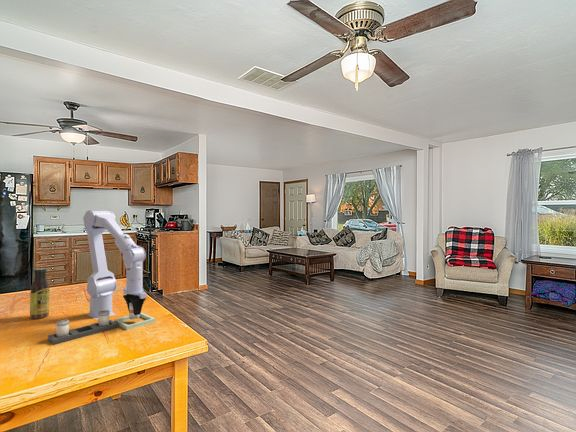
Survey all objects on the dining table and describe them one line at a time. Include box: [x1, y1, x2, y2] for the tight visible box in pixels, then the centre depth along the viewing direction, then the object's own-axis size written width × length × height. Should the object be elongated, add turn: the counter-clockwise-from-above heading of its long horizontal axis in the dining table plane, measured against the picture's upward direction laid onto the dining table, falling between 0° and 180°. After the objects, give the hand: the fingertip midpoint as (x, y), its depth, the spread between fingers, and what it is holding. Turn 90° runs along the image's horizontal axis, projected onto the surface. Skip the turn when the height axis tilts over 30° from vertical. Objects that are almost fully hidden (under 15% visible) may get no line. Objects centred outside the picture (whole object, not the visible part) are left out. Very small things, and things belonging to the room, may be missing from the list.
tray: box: [113, 312, 156, 331], centre depth 125 cm, size 11×11×2 cm
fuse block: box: [47, 319, 119, 346], centre depth 114 cm, size 7×20×2 cm, turn 141°
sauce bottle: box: [29, 267, 50, 320], centre depth 132 cm, size 7×6×20 cm
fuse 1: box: [55, 319, 70, 338], centre depth 109 cm, size 4×4×6 cm
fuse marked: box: [128, 302, 141, 320], centre depth 125 cm, size 4×4×6 cm
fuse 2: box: [97, 310, 110, 327], centre depth 119 cm, size 4×4×6 cm
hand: (134, 313), depth 125 cm, fingers closed on fuse marked, 4 cm apart
